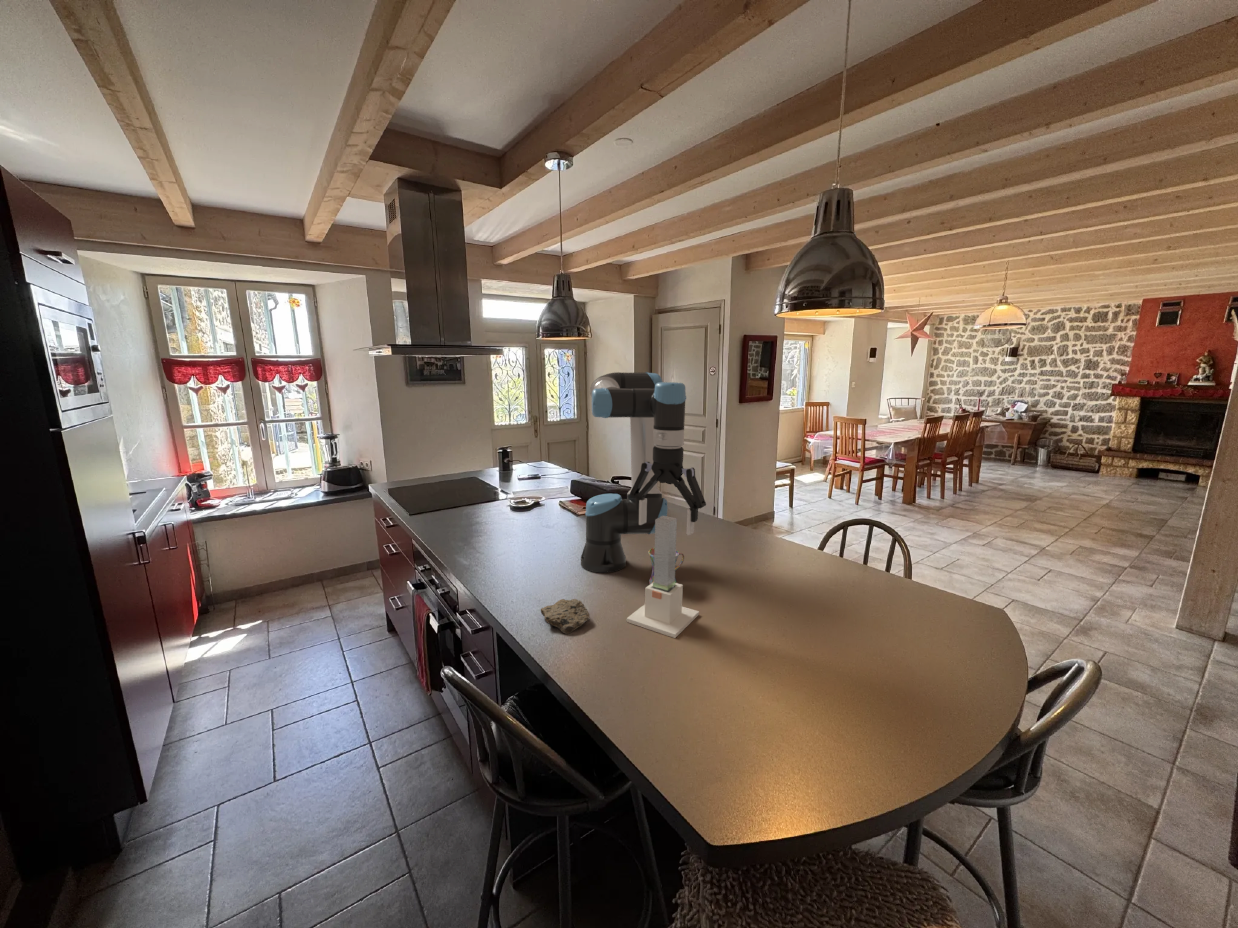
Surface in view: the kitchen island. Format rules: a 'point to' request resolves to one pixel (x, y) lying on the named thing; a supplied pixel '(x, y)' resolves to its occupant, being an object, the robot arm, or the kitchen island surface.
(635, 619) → the stand
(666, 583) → the column
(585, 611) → the rock
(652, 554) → the mug
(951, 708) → the kitchen island surface
